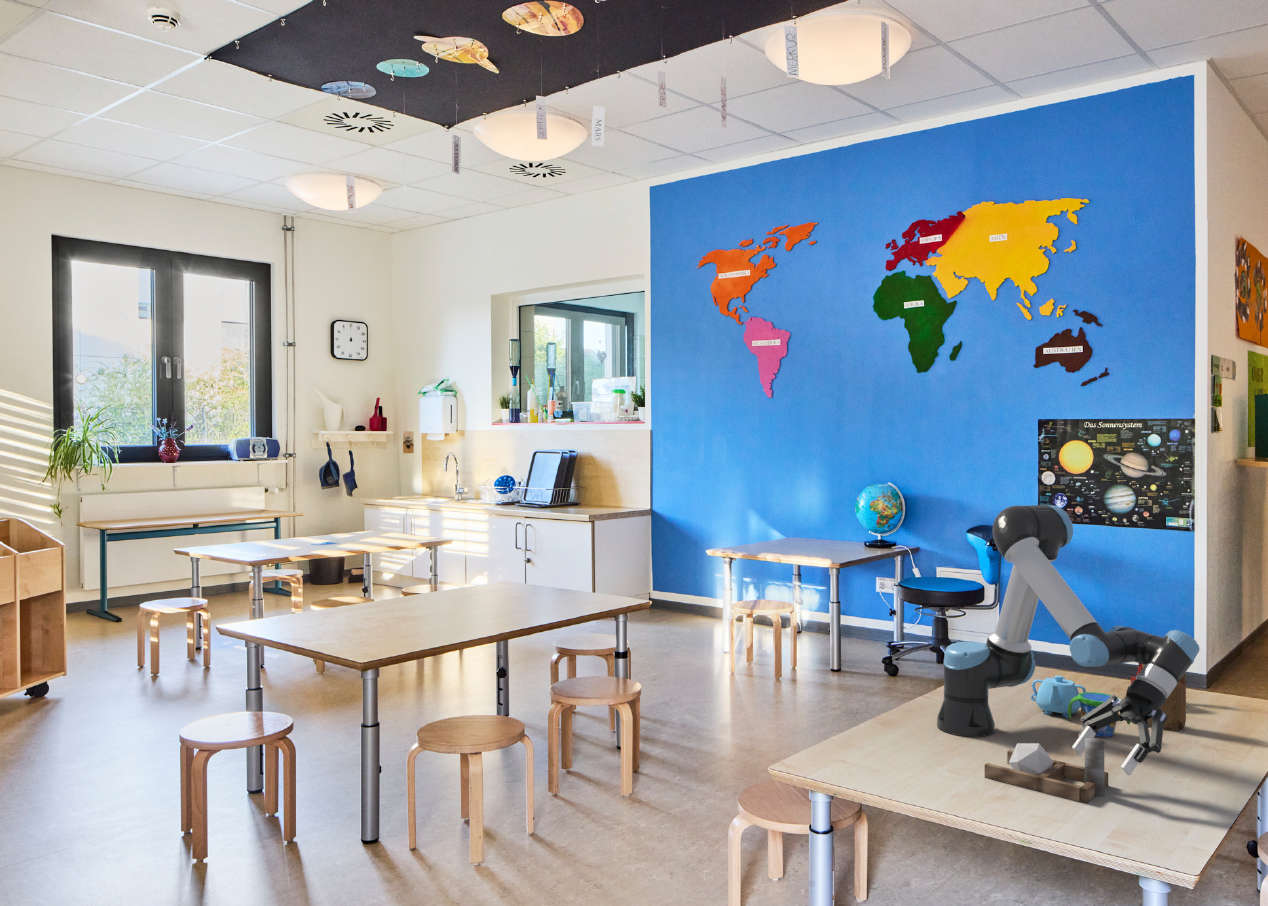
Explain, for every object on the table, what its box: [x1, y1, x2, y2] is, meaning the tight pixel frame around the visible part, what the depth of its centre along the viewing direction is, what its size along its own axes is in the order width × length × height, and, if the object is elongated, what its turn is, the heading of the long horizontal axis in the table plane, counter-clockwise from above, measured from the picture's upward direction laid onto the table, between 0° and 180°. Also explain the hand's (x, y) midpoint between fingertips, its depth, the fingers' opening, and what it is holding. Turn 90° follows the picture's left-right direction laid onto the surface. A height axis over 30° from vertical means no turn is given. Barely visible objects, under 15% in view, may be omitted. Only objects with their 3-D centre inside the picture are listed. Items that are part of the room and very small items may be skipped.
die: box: [1008, 742, 1054, 776], centre depth 220 cm, size 8×9×10 cm
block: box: [1142, 665, 1187, 731], centre depth 262 cm, size 11×8×20 cm
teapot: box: [1030, 675, 1087, 719], centre depth 274 cm, size 13×14×11 cm
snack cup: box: [1068, 691, 1131, 738], centre depth 255 cm, size 16×10×10 cm
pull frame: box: [984, 737, 1109, 804], centre depth 217 cm, size 24×15×12 cm, turn 46°
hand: (1099, 761), depth 210 cm, fingers open, 13 cm apart
